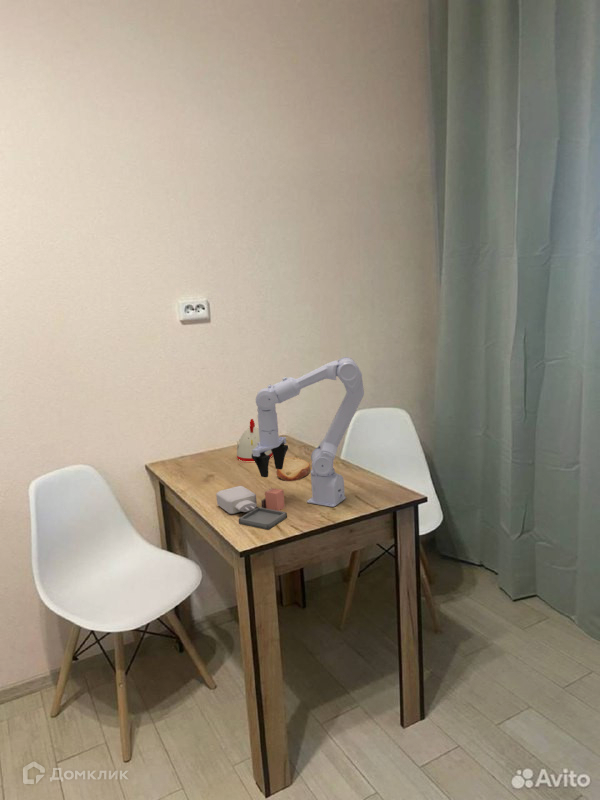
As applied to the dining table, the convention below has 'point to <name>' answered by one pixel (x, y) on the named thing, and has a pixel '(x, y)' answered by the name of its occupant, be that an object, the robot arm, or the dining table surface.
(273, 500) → the salmon gift carton
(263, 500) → the bar
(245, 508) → the charger
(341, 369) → the robot arm
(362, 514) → the dining table surface
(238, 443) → the kitchen timer
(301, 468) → the bread slice
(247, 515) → the tray
